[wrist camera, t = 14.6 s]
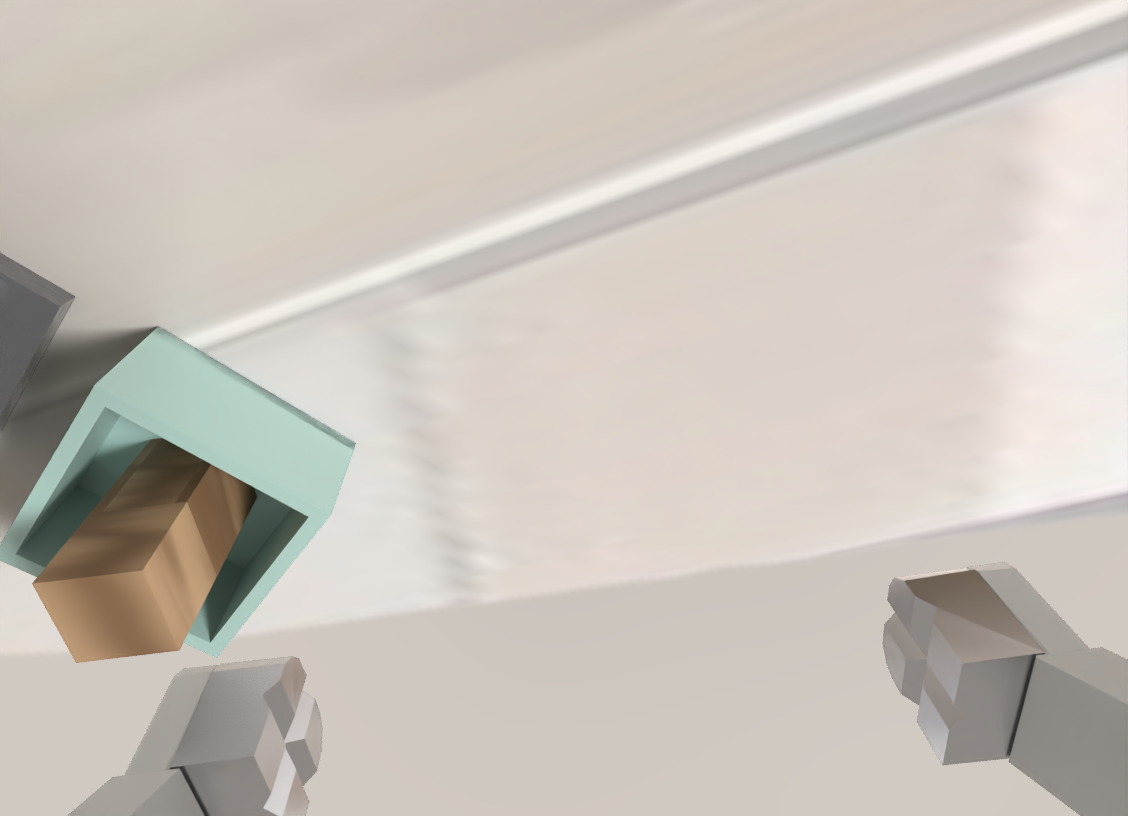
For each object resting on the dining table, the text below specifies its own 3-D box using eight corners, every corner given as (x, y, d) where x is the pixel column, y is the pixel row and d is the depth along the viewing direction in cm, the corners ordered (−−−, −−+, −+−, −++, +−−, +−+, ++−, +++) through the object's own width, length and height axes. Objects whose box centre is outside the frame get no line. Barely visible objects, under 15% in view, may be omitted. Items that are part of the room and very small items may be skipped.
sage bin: (64, 479, 44) (-8, 557, 38) (158, 326, 40) (94, 384, 34) (254, 574, 48) (217, 657, 42) (355, 443, 44) (331, 514, 38)
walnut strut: (178, 506, 44) (76, 662, 34) (151, 439, 42) (31, 583, 32) (257, 497, 44) (179, 650, 34) (233, 429, 42) (142, 570, 32)
